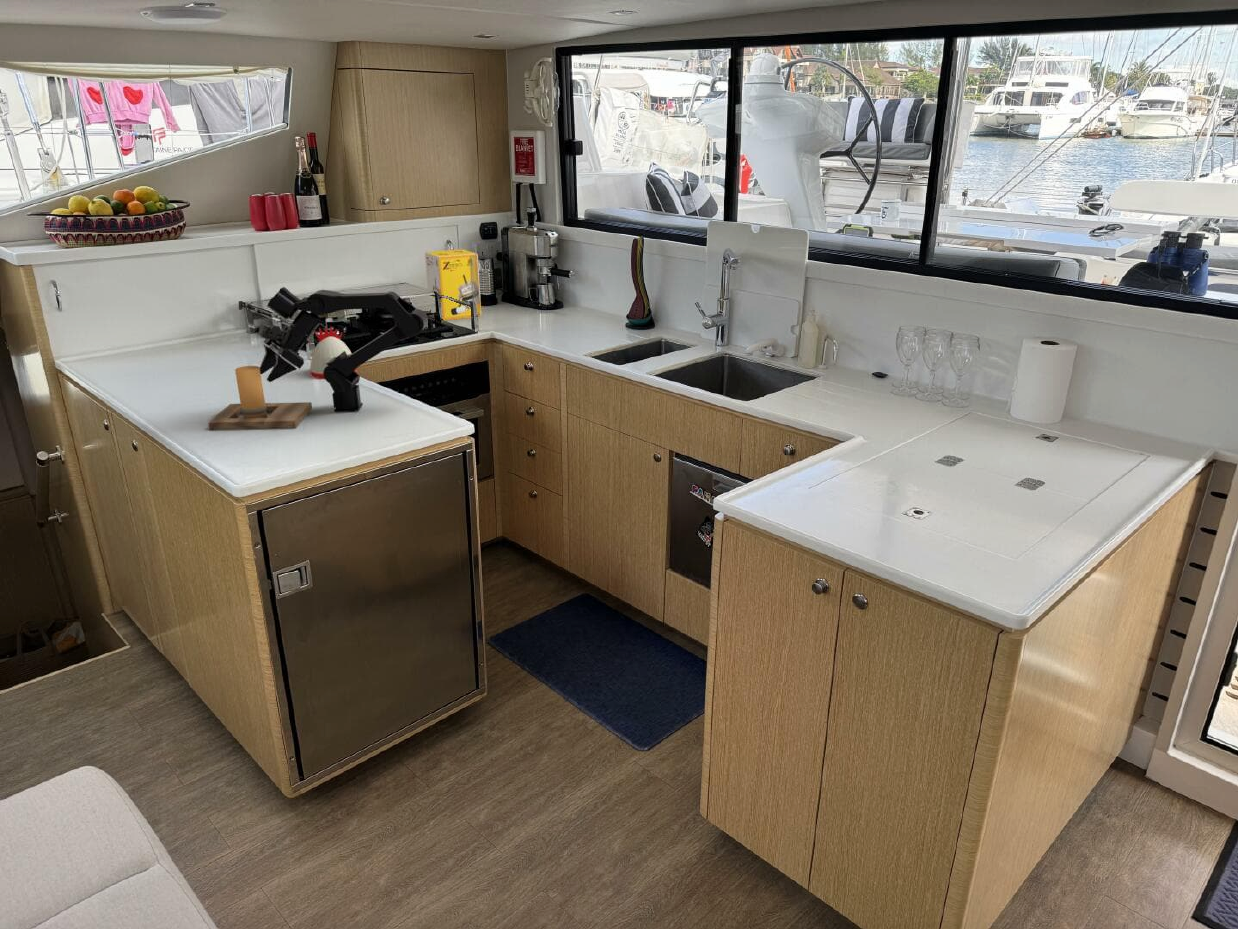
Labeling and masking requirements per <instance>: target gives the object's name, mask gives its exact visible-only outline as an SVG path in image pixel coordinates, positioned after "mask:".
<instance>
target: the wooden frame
mask: <svg viewBox="0 0 1238 929" xmlns="http://www.w3.org/2000/svg"><path fill="white" fill-rule="evenodd" d="M265 404H266V406H267V411H266V412H267V414H269V415H267V418H243V417H242V418H241V416H243V415H242V413H241V403H229V404H228V405H227V406H226V407H224V409H222V410H221V411H220V412H219V413H218V414H217V415H215V416H214V417H213V418H212V419H211V420H209V421H208V423H207V424H208V429H209V431H221V430H223V431H224V430H226V431H227V430H228V431H229V430H262V429H265V430H266V429H267V430H269V429H271V430H272V429H273V430H275V429H296V428H298V427H299V425H300V424H301V423H302V422H303V421H304V420H305V418H306V417H307V416H308V415H309V414H310V413H311V411H312V410H313V403H312V402H310V401H309V402H308V401H307V402H305V401H304V402H265Z"/></svg>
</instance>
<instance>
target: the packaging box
mask: <svg viewBox="0 0 1238 929" xmlns="http://www.w3.org/2000/svg"><path fill="white" fill-rule="evenodd" d="M424 258H425V269H426V281H427V290H428V289H431V290H433V291H436V292H437V293H438V294H439V295H444V296H448V297H452V298H454V299H457V300H460V301H468V302H469V301H474V302H475V304H476V308H477V315H478V317H482V305H481V304H482V303H481V288H480V287H481V286H480V272H479V258H478V254H477V253H476V252H473V251H469V250H466V249H464V248H463V249H451V250H450V249H449V250H437V251H427V252H426V251H425V252H424ZM440 303H441V315H442V319H443V320H444V321H443V320H442V321H443V322H445V321H450V320H451V321H453V320H461V319H468V318H470V319H471V318H472V317H471V309H470V307H469V306H467V305H462V304H459V303H456V302H454V301H451V300H449V299H446V298H441V300H440ZM478 317H477V318H478Z"/></svg>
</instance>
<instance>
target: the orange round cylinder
mask: <svg viewBox="0 0 1238 929" xmlns="http://www.w3.org/2000/svg"><path fill="white" fill-rule="evenodd" d="M234 371H235V372H234V373H235V377H236V383H237V384H236V385H237V390H238V397H239V404H241V413H242V415H241V416H242V418H267V417H268V413H267V412H266V411H267V406H266V404H265V403H266V399H265V393H264V385H263V382H262V381H263V380H262V374H261V373H260V366H257V365H245V366H240V367H237V368H235V369H234Z"/></svg>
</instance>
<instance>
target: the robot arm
mask: <svg viewBox="0 0 1238 929" xmlns="http://www.w3.org/2000/svg"><path fill="white" fill-rule="evenodd" d="M267 308H269V309H270V310H271V311H273V312H274V313H276V314H277V315H279V317H280V318H282V319H283V320H288V319H290V320H293V321H292V322H291V324H289V326H288V325H285V326H284V327H282V328H281V326H278V325H275V324H272V325H269V324H267V323H262V322H261V323H260V324H261V325H260V326H259V330H258V334H257V335H258V336H260V338H263V339H264V340H263V348H264V353H265V354H264V356H263V358H262V361H261V364H260V366H259V367H260V373H261V375H263V374H265V373H266V372H267V371H270V369H271V371H270V372H269V374H268V376H267V378H266V381H267V382H268V383H271V382H273V381H275V380H278V379H279V378H281V377H283V376H285V375H287V374H289V373H291V372H294V371H297V370H298V369H299V370H300V369H301V368H302V367H303V366H304V364H305V361H304V360H305V359H304V358H303V357H302V356H300V353H299V352H300V350H301V349H302V348H303V346H304V345H308V344H309V343H310V341H309V338H310V337H312V334H314V333H315V332H316V329H318V327H319V326H320V325H321V326H322V327H324V329H325V328H327V329H328V324H327V316H324V315H328V314H332V313H336V312H339V311H343V310H372V309H374V310H375V309H386V310H387V311H388V312H389V313H390V314H391V316H392V317H393V318H394V319H395V320H396V321H397V323H396V324H395V325H394V326H393V327H391V328H390V329H388V330H387V331H385V332H384V333H382V334H381V335H379V336H377V337H376V338H374V339H373V340H372V341H370V342H368V343H367V344H365V345H364V346H362V347H360V348H359V349H358V350H356V351H353V353H352V352H351V353H352V354H349V355H347V354H346V352H345V351H343V352H342V353H341V354H340V355H339V356H337V357H334V358H332V359H331V360H330V361H329V362H328V363H327V365H328V366H327V367H326V368H325V369H324V373H323V375H324V378H325V379H324V380H325V381H326V382H327V383H328V384H329V385H330V387H331V389H332V391H333V393H332V395H331V396H332V401H333V403H332V404H333V408H334V412H336V413H337V412H342V413H343V412H359V411H360V410H361V408H362V407H363V404H364V403H363V402H362V400H361V394H360V393H361V391H360V385H359V384H358V383H359V382H360V380H361V375H360V374H359V373H358V372H355V371H354V370H355V369H356V368H359V367H360V366H362V365H363V364H365V363H367V362H368V361H369V360H371V359H373V358H375V357H376V356H377V355H379V354H380V353H382V352H384V351H385V350H387V349H389V348H390V347H392V346H393V345H395V344H396V343H398V342H400V341H403V340H406V339H409V338H413V337H414V336H416V335H419V334H421V332H422V331H423V330H424V329H425V328H426V327H427V326H428V322H429V318H428V315H427V313H426V312H425V311H423V310H422V309H419V308H416V307H415V306H414V305H413V304H411V303H410V302H409V301H407V300H405V299H403V298H402V297H401V296H400V295H399V294H397V293H396V292H394V291H391V290H390V291H386V292H367V293H366V292H363V293H360V292H359V293H341V292H338V291H335V290H327V289H318V290H317V291H315V292H314V293H312V294H310V295H309V296H308V297H303V298H299V297H297V296H296V295H295V294H293V293H292V292H291V291H290V290H289V289H288V288H286V287H285V286H283V287H281V288H280V289H279V290H278V292H276V293H275V295H274V296H272V297H271V298H270V299H269V302H268V303H267ZM299 311H300V312H299ZM294 317H295V318H294ZM293 318H294V319H293Z"/></svg>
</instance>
